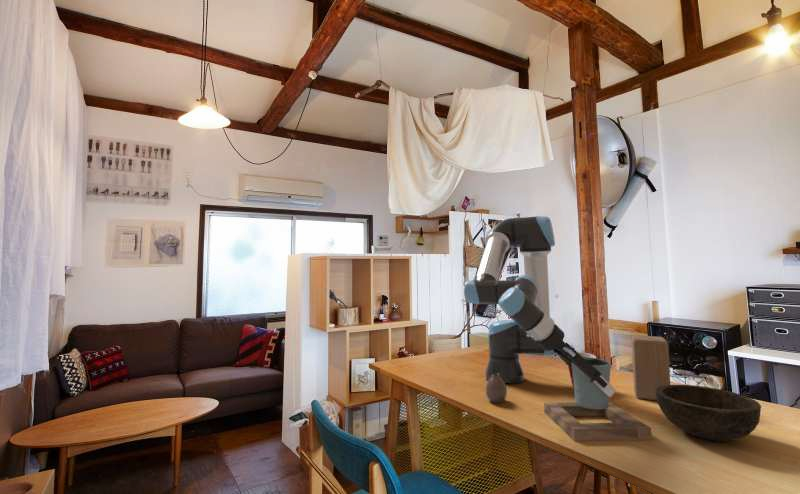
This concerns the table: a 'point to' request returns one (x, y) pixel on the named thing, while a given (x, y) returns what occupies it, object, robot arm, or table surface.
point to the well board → (618, 430)
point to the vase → (496, 389)
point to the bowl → (709, 411)
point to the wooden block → (649, 365)
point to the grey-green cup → (591, 385)
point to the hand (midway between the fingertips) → (602, 387)
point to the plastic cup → (582, 356)
